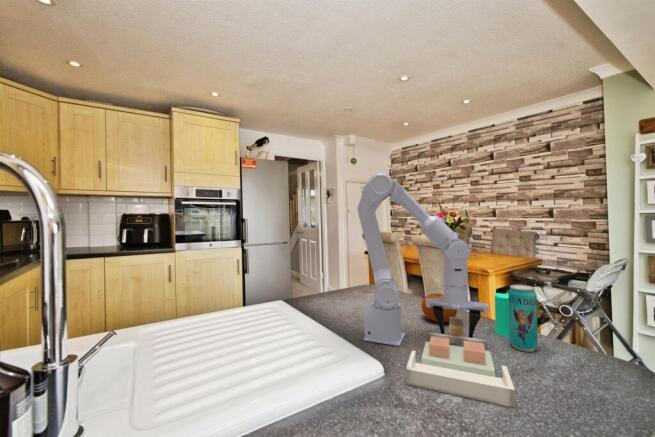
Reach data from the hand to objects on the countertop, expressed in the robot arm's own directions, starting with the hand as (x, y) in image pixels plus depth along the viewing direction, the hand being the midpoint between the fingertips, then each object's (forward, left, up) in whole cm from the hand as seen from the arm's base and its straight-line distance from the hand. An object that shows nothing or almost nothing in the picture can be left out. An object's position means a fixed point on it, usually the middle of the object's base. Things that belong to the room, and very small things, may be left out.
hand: (456, 337), depth 74 cm
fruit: (-5, +16, -2) cm, 17 cm away
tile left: (-4, -11, 0) cm, 12 cm away
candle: (+13, +12, -2) cm, 18 cm away
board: (0, -11, -1) cm, 11 cm away
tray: (0, -20, -1) cm, 20 cm away
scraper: (0, 0, -2) cm, 2 cm away
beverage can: (+15, +3, -2) cm, 15 cm away
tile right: (+3, -11, 0) cm, 12 cm away
